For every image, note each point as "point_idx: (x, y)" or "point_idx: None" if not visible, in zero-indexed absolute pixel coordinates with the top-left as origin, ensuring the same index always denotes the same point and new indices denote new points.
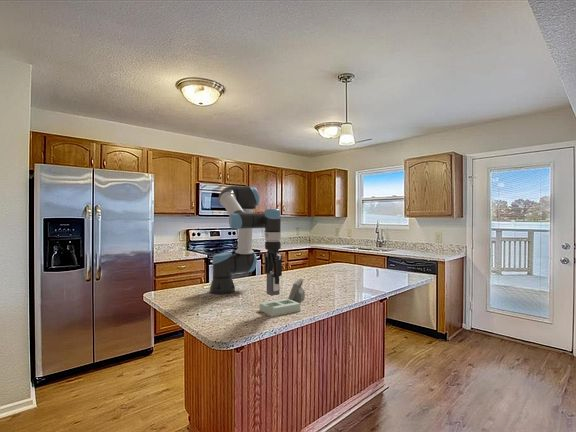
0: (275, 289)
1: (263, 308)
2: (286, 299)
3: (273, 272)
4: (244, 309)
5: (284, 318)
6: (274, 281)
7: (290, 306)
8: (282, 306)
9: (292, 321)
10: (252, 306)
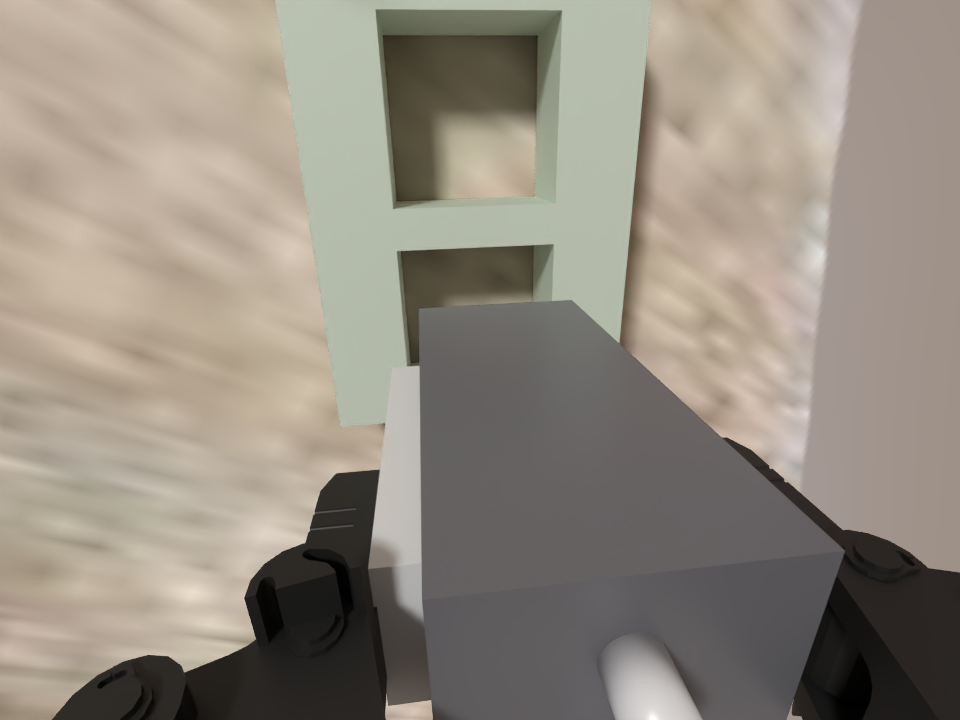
0: None
1: None
2: (337, 16)
3: (469, 657)
4: (258, 491)
5: (698, 305)
6: None
7: (630, 158)
8: (612, 271)
9: (802, 286)
10: (179, 398)
